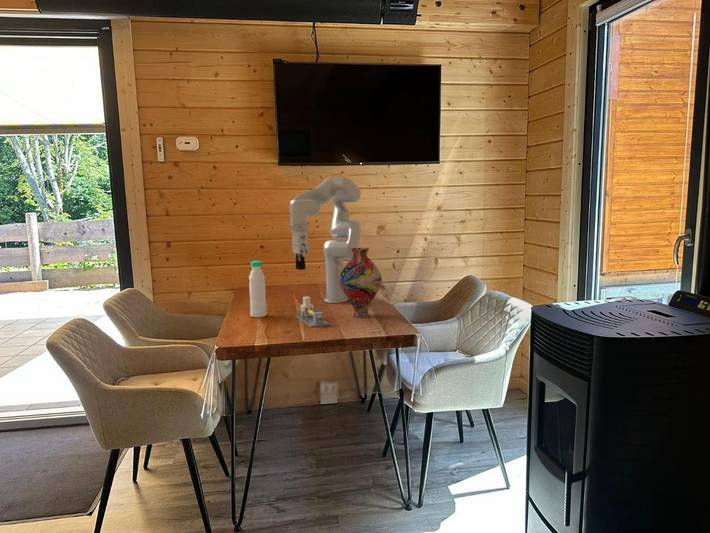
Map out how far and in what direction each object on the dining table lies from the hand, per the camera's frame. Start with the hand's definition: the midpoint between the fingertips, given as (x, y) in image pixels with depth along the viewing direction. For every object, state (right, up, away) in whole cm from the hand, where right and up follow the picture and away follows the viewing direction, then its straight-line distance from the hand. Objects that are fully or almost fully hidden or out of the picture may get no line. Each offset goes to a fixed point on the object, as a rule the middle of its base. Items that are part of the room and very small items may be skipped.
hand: (300, 268), depth 215 cm
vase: (+27, -21, 0) cm, 34 cm away
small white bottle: (+3, -21, -4) cm, 21 cm away
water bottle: (-19, -22, +2) cm, 29 cm away
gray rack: (+6, -22, -9) cm, 25 cm away
